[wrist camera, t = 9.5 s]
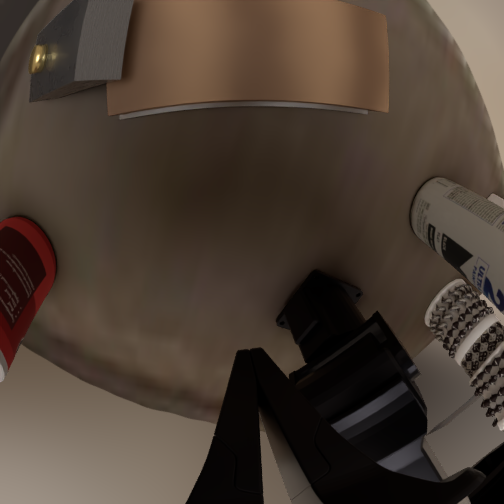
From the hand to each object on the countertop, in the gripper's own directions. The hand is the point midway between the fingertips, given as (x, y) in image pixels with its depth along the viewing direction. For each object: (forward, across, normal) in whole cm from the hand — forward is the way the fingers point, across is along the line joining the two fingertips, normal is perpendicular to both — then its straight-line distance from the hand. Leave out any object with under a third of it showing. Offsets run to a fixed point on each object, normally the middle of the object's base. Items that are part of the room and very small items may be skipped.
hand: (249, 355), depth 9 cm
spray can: (+12, -20, 0) cm, 23 cm away
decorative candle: (+12, -30, +14) cm, 35 cm away
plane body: (+12, -2, -12) cm, 17 cm away
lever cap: (+10, +8, -12) cm, 17 cm away
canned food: (+12, +18, +1) cm, 22 cm away
